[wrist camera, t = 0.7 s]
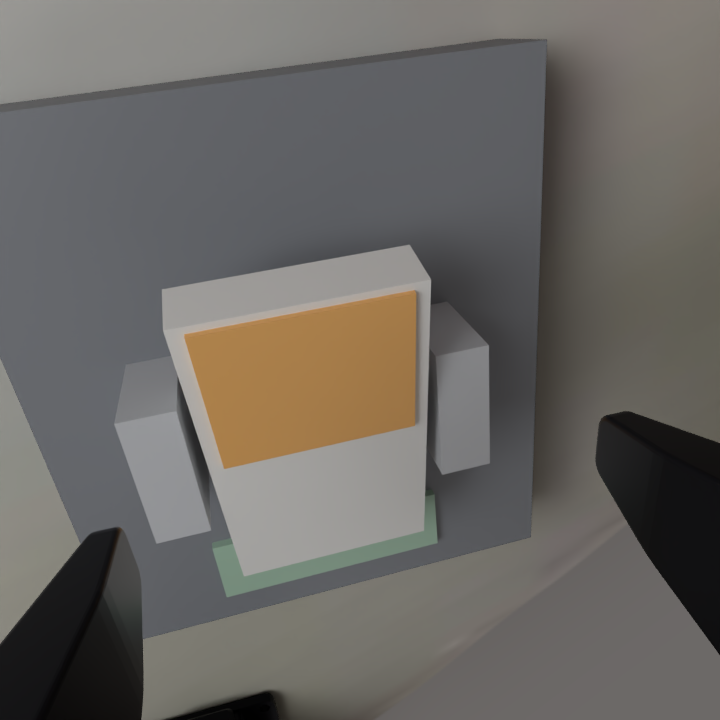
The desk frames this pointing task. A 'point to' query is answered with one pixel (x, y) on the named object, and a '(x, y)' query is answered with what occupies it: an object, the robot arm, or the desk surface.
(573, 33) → the desk surface
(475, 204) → the box
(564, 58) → the desk surface
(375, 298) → the block
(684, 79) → the desk surface
